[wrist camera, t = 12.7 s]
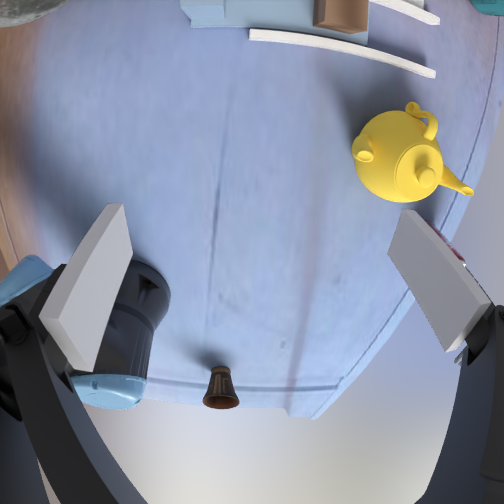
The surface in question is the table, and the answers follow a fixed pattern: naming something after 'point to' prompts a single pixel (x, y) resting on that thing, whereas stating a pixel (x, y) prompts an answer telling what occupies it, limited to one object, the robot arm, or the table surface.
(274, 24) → the pale blue stepped slab
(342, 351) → the table surface
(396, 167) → the teapot
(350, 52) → the lane bed
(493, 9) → the beverage bottle
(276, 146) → the table surface
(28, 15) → the decorative sphere
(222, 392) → the cup
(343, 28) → the walnut block
